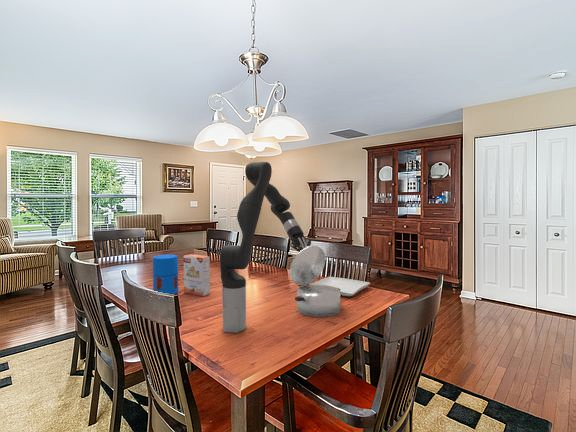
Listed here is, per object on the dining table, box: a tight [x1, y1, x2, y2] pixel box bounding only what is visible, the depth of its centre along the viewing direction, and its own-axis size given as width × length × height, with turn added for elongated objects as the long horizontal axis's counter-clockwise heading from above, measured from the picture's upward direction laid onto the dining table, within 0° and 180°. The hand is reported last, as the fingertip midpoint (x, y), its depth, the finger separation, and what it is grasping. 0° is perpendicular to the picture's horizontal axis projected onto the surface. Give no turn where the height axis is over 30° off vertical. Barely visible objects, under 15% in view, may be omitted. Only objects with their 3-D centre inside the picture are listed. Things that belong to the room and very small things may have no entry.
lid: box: [289, 244, 326, 288], centre depth 154 cm, size 22×21×2 cm
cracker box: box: [183, 253, 211, 297], centre depth 172 cm, size 14×6×21 cm, turn 62°
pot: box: [294, 284, 341, 318], centre depth 148 cm, size 20×26×9 cm
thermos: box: [152, 254, 180, 297], centre depth 146 cm, size 11×11×25 cm
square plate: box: [310, 276, 371, 297], centre depth 181 cm, size 27×27×4 cm
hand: (308, 257), depth 153 cm, fingers closed
